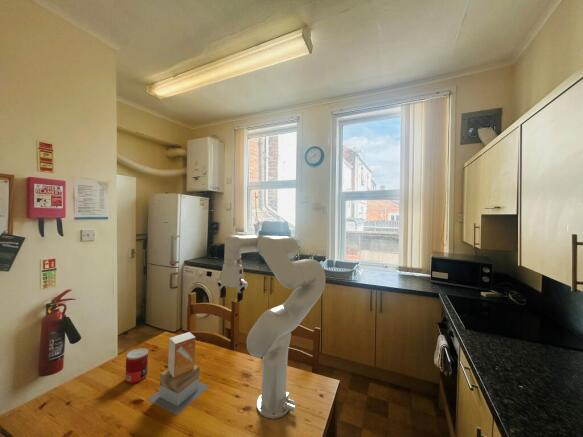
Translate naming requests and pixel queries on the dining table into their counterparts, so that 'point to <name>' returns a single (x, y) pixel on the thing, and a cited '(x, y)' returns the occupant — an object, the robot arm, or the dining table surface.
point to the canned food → (136, 365)
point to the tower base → (180, 397)
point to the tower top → (179, 380)
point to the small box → (181, 354)
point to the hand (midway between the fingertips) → (231, 298)
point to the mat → (179, 408)
